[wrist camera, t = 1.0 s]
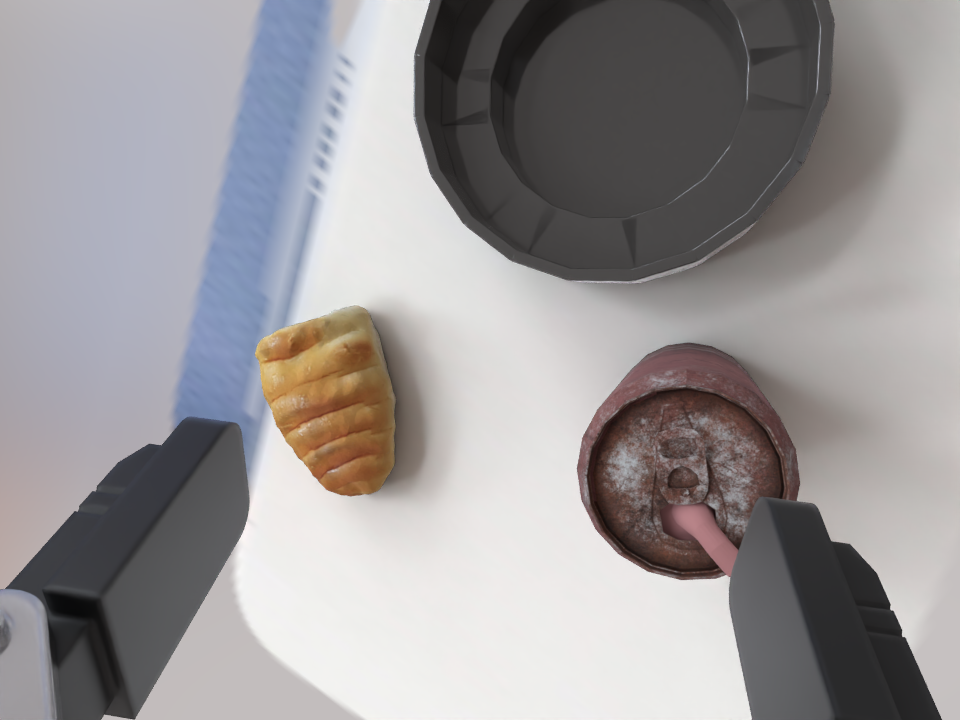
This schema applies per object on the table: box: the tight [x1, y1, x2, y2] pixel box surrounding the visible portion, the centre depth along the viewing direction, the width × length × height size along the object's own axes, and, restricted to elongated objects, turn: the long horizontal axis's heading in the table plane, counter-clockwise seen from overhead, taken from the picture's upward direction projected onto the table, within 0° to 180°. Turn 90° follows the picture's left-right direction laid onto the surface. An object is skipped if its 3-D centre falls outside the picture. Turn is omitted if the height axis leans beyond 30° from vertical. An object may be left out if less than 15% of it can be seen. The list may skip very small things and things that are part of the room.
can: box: [577, 343, 800, 580], centre depth 27 cm, size 6×6×14 cm
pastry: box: [255, 306, 396, 496], centre depth 36 cm, size 9×7×4 cm
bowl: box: [414, 0, 835, 284], centre depth 31 cm, size 16×16×5 cm
